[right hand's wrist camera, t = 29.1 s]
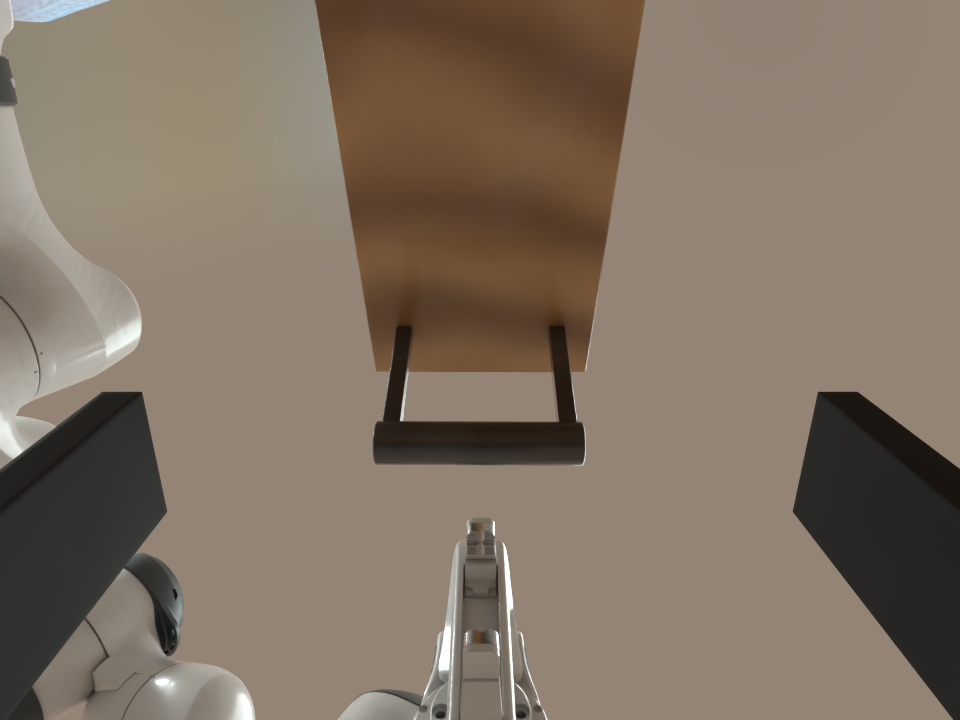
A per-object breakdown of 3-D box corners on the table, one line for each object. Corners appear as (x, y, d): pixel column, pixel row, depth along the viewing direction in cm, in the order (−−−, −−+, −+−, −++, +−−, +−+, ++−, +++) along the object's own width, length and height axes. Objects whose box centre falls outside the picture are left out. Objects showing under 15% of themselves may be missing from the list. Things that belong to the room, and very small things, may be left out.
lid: (583, 355, 31) (605, 501, 25) (378, 355, 31) (353, 500, 25) (641, -29, 20) (707, 75, 14) (318, -29, 20) (246, 75, 14)
